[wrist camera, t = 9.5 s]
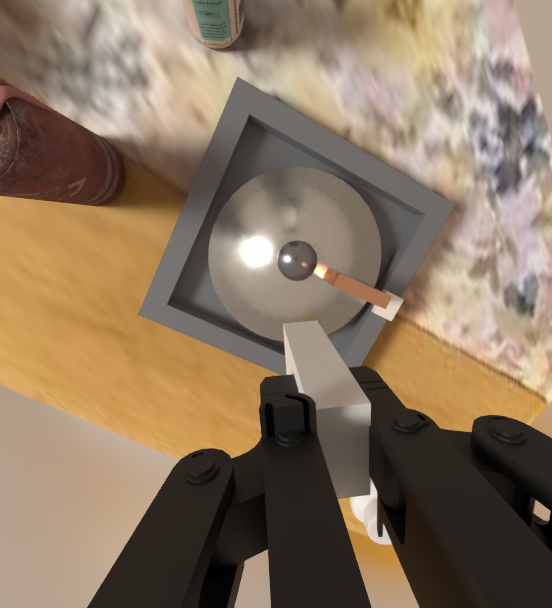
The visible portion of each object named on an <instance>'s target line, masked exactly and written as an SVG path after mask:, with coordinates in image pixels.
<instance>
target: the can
mask: <svg viewBox="0 0 552 608" xmlns="http://www.w3.org/2000/svg"><path fill="white" fill-rule="evenodd" d="M124 181H125V168H124V165H123V162H122V158H121V157H120V155H119V154H118V152H117V151H116V149H115V147H113V146H112V145H111V144H110V143H109V142H108V141H106V140H105V139H103V138H102V137H100V136H98V135H97V134H95V133H93V132H91V131H90V130H88V129H86V128H84V127H83V126H81V125H79V124H77V123H76V122H74V121H72V120H70V119H69V118H67V117H65V116H63V115H62V114H60V113H58V112H57V111H55V110H53V109H51V108H50V107H48V106H46V105H44V104H43V103H41V102H40V101H39V100H37V99H36V98H34V97H33V96H30V95H28V94H26V93H24V92H22V91H20V90H18V89H17V88H15V87H13V86H11V85H10V84H8V83H6V82H4V81H3V80H1V79H0V196H8V197H17V198H26V199H35V200H44V201H53V202H63V203H72V204H81V205H90V206H99V205H104V204H107V203H109V202H111V201H112V200H114V199H115V198H116V197H117V196H118V194H119V193H120V192H121V190H122V188H123V185H124Z"/></svg>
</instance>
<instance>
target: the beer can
mask: <svg viewBox="0 0 552 608" xmlns="http://www.w3.org/2000/svg"><path fill="white" fill-rule="evenodd" d="M182 3H183V7H184V10H185V13H186V19H187V23H188V26H189V29H190V31H191V33H192V34H193V36H194V37H195V38H196V39H197V40H198V41H199V42H200V43H201V44H203V45H204V46H206V47H209V48H213V49H222V48H225V47H228V46H229V45H231V44H232V43H234V42H235V41H236V40H237V38H238V37H239V35H240V33H241V31H242V27H243V22H244V6H243V0H182Z"/></svg>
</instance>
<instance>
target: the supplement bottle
mask: <svg viewBox="0 0 552 608" xmlns="http://www.w3.org/2000/svg"><path fill="white" fill-rule="evenodd" d="M348 501H349V504H350V506H351V509H352V511H353V513H354V515H355V516H356V517H357V518H358V519H359V520H360V521H361V522H363V523H364V525H365V527H366V530H367V532H368V535H369V537H370V538H371V539H372V540H373V541H374V542H376V543H379V544H383V545H384V544H392V543H391V540H390V538H389V536H388V533H387V531H386V529H385V526H384V524H383V537H378V532H377V490H376V488H375V486H374V484H373V482H372V479H371V483H370V495H365V496H357V497H349V498H348Z"/></svg>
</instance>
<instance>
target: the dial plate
mask: <svg viewBox="0 0 552 608" xmlns="http://www.w3.org/2000/svg"><path fill="white" fill-rule="evenodd" d="M286 167H307V168H314V169H318V170H321V171H325V172H327V173H329V174H332V175H334V176H336V177H338V178H339V179H341V180H343V181H345V182H346V183H347V184H348V185H350V186H351V187H352V188H353V189H354V190H355V191H356V192H357V193H358V194H359V195H360V196H361V197H362V198H363V200H364V201H365V203H366V204H367V205H368V207H369V209H370V211H371V212H372V214H373V216H374V219H375V221H376V224H377V227H378V231H379V235H380V241H381V264H380V270H379V274H378V278H377V281H376V284H375V286H374V287H375V288H377V289H379V290H381V291H383V292H384V293H386V294H388V295H390V296H392V298H391V300H390V302H389V304H388V306H387V308H386V309H384V308H381V307H379V306H377V305H374V304H372V303H370V302H366V303H365V304H364V306H363V307H362V308H361V310H360V311H359V312H358V313H357V314H356V315H355V316H354V317H353V318H352V319H351V320H350V321H349V322H347V323H346V324H345V325H344V326H342V327H341V328H339V329H337V330H336V331H334V332H332V333H330V334H328V335H327V337H328V338H329V340H330V341H331V343H332V344H333V346H334V347H335V349H336V351H337V352H338V354H339V355H340V357H341V358H342V360H343V361H344V363H345V364H346V366H347V367H348V368H349V367H358V366H361V364H362V363H363V361H364V359H365V358H366V356H367V354H368V352H369V351H370V349H371V347H372V346H373V344H374V342H375V340H376V339H377V337H378V335H379V334H380V332H381V330H382V328H383V327H384V325H385V323H386V322H387V320H390V321H392V320H393V318H394V316H395V314H396V313H397V311H398V309H399V308H400V306H401V304H402V303H403V301H404V299H402V298H401V296H402V294H403V293H404V291H405V289H406V287H407V286H408V284H409V282H410V281H411V279H412V277H413V275H414V274H415V272H416V270H417V269H418V267H419V265H420V263H421V262H422V260H423V258H424V257H425V255H426V253H427V251H428V250H429V248H430V246H431V245H432V243H433V241H434V240H435V238H436V236H437V234H438V233H439V231H440V229H441V228H442V226H443V224H444V222H445V221H446V219H447V217H448V216H449V214H450V212H451V210H452V209H453V207H454V205H455V204H453V203H452V202H450V201H448V200H446V199H445V198H443V197H441V196H440V195H438V194H436V193H435V192H433V191H431V190H429V189H428V188H426V187H424V186H423V185H421V184H419V183H418V182H416V181H414V180H412V179H411V178H409V177H407V176H406V175H404V174H402V173H401V172H399V171H397V170H395V169H394V168H392V167H390V166H389V165H387V164H385V163H384V162H382V161H380V160H378V159H377V158H375V157H373V156H372V155H370V154H368V153H367V152H365V151H363V150H361V149H360V148H358V147H356V146H355V145H353V144H351V143H349V142H348V141H346V140H344V139H343V138H341V137H339V136H338V135H336V134H334V133H332V132H331V131H329V130H327V129H326V128H324V127H322V126H321V125H319V124H317V123H315V122H314V121H312V120H310V119H309V118H307V117H305V116H304V115H302V114H300V113H298V112H297V111H295V110H293V109H292V108H290V107H288V106H287V105H285V104H283V103H281V102H280V101H278V100H276V99H275V98H273V97H271V96H270V95H268V94H266V93H264V92H263V91H261V90H259V89H258V88H256V87H254V86H253V85H251V84H249V83H247V82H246V81H244V80H242V79H241V78H239V77H237V79H236V81H235V84H234V86H233V89H232V91H231V93H230V96H229V98H228V101H227V103H226V105H225V108H224V110H223V113H222V115H221V117H220V120H219V122H218V125H217V127H216V129H215V132H214V134H213V137H212V139H211V141H210V144H209V146H208V149H207V151H206V153H205V156H204V158H203V161H202V163H201V165H200V168H199V170H198V173H197V175H196V177H195V180H194V182H193V185H192V187H191V189H190V192H189V194H188V197H187V199H186V201H185V204H184V206H183V209H182V211H181V213H180V216H179V218H178V221H177V223H176V225H175V228H174V230H173V233H172V235H171V237H170V240H169V242H168V244H167V247H166V249H165V252H164V254H163V256H162V259H161V261H160V264H159V266H158V268H157V271H156V273H155V276H154V278H153V280H152V283H151V285H150V288H149V290H148V292H147V295H146V297H145V300H144V302H143V304H142V307H141V309H140V312H139V314H138V315H140V316H143V317H145V318H148V319H150V320H152V321H155V322H157V323H159V324H162V325H164V326H167V327H169V328H171V329H174V330H176V331H178V332H181V333H183V334H185V335H188V336H190V337H193V338H195V339H197V340H200V341H202V342H204V343H207V344H209V345H212V346H214V347H216V348H219V349H221V350H223V351H226V352H228V353H231V354H233V355H235V356H238V357H240V358H242V359H245V360H247V361H250V362H252V363H254V364H257V365H259V366H261V367H264V368H266V369H269V370H271V371H273V372H276V373H278V374H280V375H287V374H286V360H285V345H284V341H278V340H272V339H269V338H266V337H263V336H260V335H258V334H256V333H254V332H252V331H250V330H249V329H247V328H246V327H244V326H243V325H242V324H240V323H239V322H238V321H237V320H235V319H234V317H233V316H232V315H231V314H230V313H229V312H228V311H227V310H226V308H225V307H224V305H223V304H222V303H221V301H220V299H219V297H218V295H217V293H216V291H215V289H214V286H213V283H212V280H211V275H210V271H209V262H208V252H209V242H210V237H211V233H212V230H213V226H214V224H215V221H216V219H217V217H218V215H219V213H220V211H221V210H222V208H223V207H224V205H225V203H226V202H227V201H228V200H229V199H230V197H231V196H232V195H233V194H234V193H235V192H236V191H237V190H238V189H239V188H241V187H242V186H243V185H244V184H246V183H247V182H249V181H250V180H252V179H253V178H255V177H257V176H259V175H261V174H263V173H266V172H269V171H272V170H275V169H280V168H286Z"/></svg>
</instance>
